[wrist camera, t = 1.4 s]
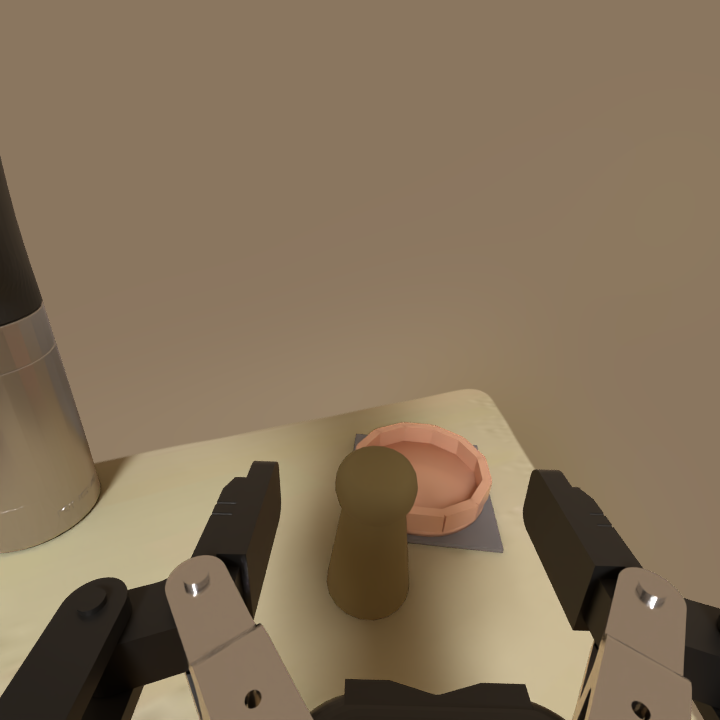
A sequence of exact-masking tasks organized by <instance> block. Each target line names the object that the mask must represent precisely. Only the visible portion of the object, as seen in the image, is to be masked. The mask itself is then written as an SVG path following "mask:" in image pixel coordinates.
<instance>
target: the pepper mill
mask: <svg viewBox="0 0 720 720" xmlns="http://www.w3.org/2000/svg"><path fill="white" fill-rule="evenodd" d="M335 490H336V493H337V496H338V500H339V503H340V506H341V507H342V510H341V514H340V519H339V524H338V528H337V533H336V537H335V542H334V546H333V551H332V555H331V560H330V564H329V569H328V576H327V585H328V589H329V594H330V595H331V597H332V599H333V600H334V602H335V604H336V605H337V606H338V607H339V608H341V609H342V610H343V611H344V612H345V613H347V614H349V615H351V616H354V617H356V618H358V619H366V620H376V619H380V618H384V617H387V616H389V615H390V614H392V613H393V612H395V611H397V610H398V609H399V608H400V606H401V605H402V603H403V602H404V601H405V599H406V596H407V593H408V589H409V575H408V549H407V522H406V515H407V514H408V513H409V512H410V511H411V509H412V507H413V505H414V502H415V499H416V496H417V492H418V483H417V476H416V472H415V470H414V468H413V466H412V465H411V463H410V461H409V460H408V459H407V458H406V457H405V456H404V455H403V454H401V453H399V452H398V451H396V450H394V449H391V448H387V447H383V446H368V447H362V448H360V449H357V450H354V451H353V452H352V453H350V454H349V455H348V456H347V457H346V458H345V459H344V460H343V462H342V463H341V465H340V467H339V469H338V472H337V476H336V487H335Z"/></svg>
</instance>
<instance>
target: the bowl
mask: <svg viewBox="0 0 720 720" xmlns="http://www.w3.org/2000/svg"><path fill="white" fill-rule="evenodd" d="M368 446H383V447H387V448H391V449H394V450H396V451H398V452H399V453H401V454H403V455H404V456H405V457H406V458H407V459H408V460H409V461H410V463H411V465H412V466H413V468H414V470H415V472H416V476H417V483H418V492H417V496H416V499H415V502H414V505H413V507H412V509H411V511H410V512H409V513H408V514H407V515H406V522H407V534H410V535H416V536H423V537H438V536H445V535H450V534H453V533H457V532H459V531H461V530H463V529H465V528H467V527H468V526H470V525H471V524H472V523H473V522H474V521H475V520H476V519H477V518H478V517H479V515H480V514H481V512H482V510H483V507H484V504H485V502H486V501H487V499H488V496H489V493H490V489H491V485H492V479H491V476H490V472H489V468H488V465H487V461H486V458H485V456H483V455H482V454H481V453H480V452H479V451H478V450H477V449H476V448H475V447H474V446H473V445H472V444H471V443H470V442H469V441H467V440H466V439H465V438H463V437H462V436H460V435H457V434H455V433H453V432H450V431H448V430H445V429H443V428H441V427H438V426H436V425H435V426H434V425H429V424H419V423H408V422H404V423H403V422H401V423H397V424H393V425H389V426H385V427H381V428H377V429H376V430H373V431H372V432H371V433H370V434H369V435H368V436H366V437H365V438H364V439H363V440H362V441H361V442H359V443H358V444H357V446H356V450H357V449H360V448H362V447H368Z"/></svg>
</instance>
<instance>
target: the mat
mask: <svg viewBox="0 0 720 720" xmlns="http://www.w3.org/2000/svg"><path fill="white" fill-rule="evenodd" d="M366 436H368V435H363V434H356V438H355V444H354V450H356V446H357V444H358V443H359V442H361V441H362V440H363V439H364V438H365V437H366ZM473 446H474V447H475V448H476V449H477V450H478V448H477V445H473ZM407 543H417V544H426V545H435V546H444V547H453V548H462V549H471V550H481V551H490V552H499V553H503V550H504V549H503V545H502V542H501V538H500V534H499V530H498V526H497V522H496V518H495V514H494V510H493V506H492V502H491V499H490V495H489V496H488V499H487V501H486V502H485V504H484V507H483V510H482V512H481V514H480V515H479V517H478V518H477V519H476V520H475V521H474V522H473V523H472V524H471V525H470V526H468V527H467V528H465V529H463V530H461V531H459V532H457V533H453V534H450V535H445V536H438V537H423V536H416V535H410V534H407Z"/></svg>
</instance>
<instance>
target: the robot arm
mask: <svg viewBox="0 0 720 720" xmlns="http://www.w3.org/2000/svg"><path fill="white" fill-rule="evenodd" d="M100 488H101V486H100V482H99V479H98V475H97V472H96V469H95V466H94V462H93V459H92V456H91V453H90V449H89V446H88V442H87V439H86V436H85V433H84V430H83V426H82V423H81V420H80V417H79V414H78V411H77V407H76V404H75V401H74V398H73V395H72V392H71V388H70V385H69V382H68V379H67V376H66V372H65V369H64V366H63V363H62V360H61V357H60V353H59V350H58V347H57V344H56V341H55V338H54V335H53V332H52V329H51V325H50V322H49V319H48V316H47V313H46V310H45V306H44V303H43V301H42V297H41V294H40V291H39V288H38V285H37V282H36V279H35V276H34V273H33V271H32V268H31V265H30V262H29V258H28V255H27V252H26V250H25V246H24V243H23V240H22V236H21V233H20V230H19V227H18V223H17V220H16V217H15V213H14V209H13V205H12V201H11V198H10V194H9V190H8V186H7V182H6V178H5V174H4V170H3V166H2V162H1V157H0V553H9V552H14V551H19V550H24V549H27V548H30V547H33V546H36V545H39V544H41V543H44V542H46V541H48V540H50V539H52V538H55V537H56V536H58V535H60V534H61V533H63V532H65V531H67V530H68V529H70V528H71V527H72V526H74V525H75V524H76V523H78V522H79V521H80V520H81V519H82V518H83V517H84V516H85V515H86V514H87V513H88V512H89V511H90V510H91V509H92V507H93V506H94V505H95V503H96V502H97V499H98V497H99V495H100ZM280 511H281V493H280V477H279V465H278V462H270V461H254V462H253V463H252V465H251V468H250V470H249V473H248V475H247V477H235V478H234V479H233V480H232V481H231V482H230V483H229V484H227V485H226V486H225V487H224V488H223V490H222V492H221V494H220V497H219V499H218V501H217V504H216V505H215V507H214V509H213V512H212V515H211V516H210V518H209V520H208V522H207V525H206V527H205V529H204V531H203V533H202V535H201V537H200V540H199V542H198V544H197V546H196V548H195V550H194V553H193V555H192V557H191V558H190V559H188V560H186V561H184V562H183V563H181V564H180V565H178V566H177V567H176V568H175V569H174V570H173V571H172V572H171V574H170V575H169V577H168V578H167V579H165V580H163V581H160V582H157V583H154V584H150V585H146V586H142V587H138V588H134V589H130V590H127V587H126V585H125V583H124V582H123V581H121V580H119V579H117V578H110V577H107V578H100V579H96V580H93V581H91V582H89V583H86V584H84V585H83V586H81V587H79V588H78V589H76V590H75V591H74V592H73V593H71V594H70V595H69V596H68V597H67V598H66V599H65V600H64V602H63V603H62V604H61V606H60V607H59V609H58V610H57V612H56V613H55V615H54V616H53V618H52V619H51V621H50V622H49V624H48V626H47V627H46V629H45V630H44V632H43V633H42V635H41V636H40V638H39V639H38V641H37V642H36V644H35V645H34V647H33V648H32V650H31V651H30V653H29V655H28V656H27V658H26V659H25V661H24V662H23V664H22V665H21V667H20V668H19V670H18V671H17V673H16V674H15V676H14V677H13V679H12V681H11V682H10V684H9V685H8V687H7V688H6V690H5V691H4V693H3V694H2V696H1V697H0V720H131V718H132V715H133V713H134V710H135V707H136V705H137V702H138V700H139V697H140V694H141V692H142V689H143V687H144V685H146V684H149V683H152V682H156V681H159V680H162V679H165V678H168V677H171V676H174V675H177V674H180V673H185V676H186V679H187V682H188V685H189V688H190V691H191V695H192V698H193V701H194V704H195V707H196V710H197V713H198V716H199V720H565V719H563V718H562V717H561V716H559V715H558V714H556V713H554V712H552V711H551V710H549V709H547V708H545V707H543V706H541V705H538V704H536V703H533V702H531V701H530V698H529V695H528V692H527V688H526V685H525V684H499V683H479V684H476V685H472V686H469V687H465V688H462V689H458V690H455V691H451V692H448V693H445V694H441V695H434V694H430V693H427V692H424V691H421V690H418V689H415V688H412V687H409V686H406V685H402V684H399V683H396V682H393V681H390V680H360V679H345V695H342V696H338V697H335V698H333V699H331V700H328V701H326V702H324V703H322V704H321V705H319V706H318V707H316V708H315V709H313V710H312V711H311V712H310V713H309V711H308V709H307V707H306V705H305V703H304V701H303V699H302V697H301V696H300V694H299V692H298V690H297V688H296V686H295V684H294V682H293V680H292V679H291V677H290V675H289V673H288V671H287V669H286V667H285V665H284V663H283V662H282V660H281V658H280V656H279V654H278V652H277V650H276V648H275V646H274V644H273V643H272V641H271V639H270V637H269V635H268V633H267V631H266V630H265V628H264V627H263V625H262V624H260V623H259V624H257V625H256V624H255V622H254V621H253V620H254V616H255V613H256V609H257V605H258V601H259V597H260V593H261V589H262V585H263V581H264V577H265V573H266V570H267V566H268V562H269V558H270V554H271V550H272V546H273V542H274V538H275V534H276V530H277V527H278V523H279V518H280ZM523 519H524V524H525V527H526V530H527V532H528V534H529V536H530V539H531V541H532V543H533V545H534V547H535V549H536V552H537V554H538V556H539V558H540V560H541V562H542V565H543V567H544V569H545V571H546V573H547V575H548V578H549V580H550V582H551V584H552V586H553V588H554V591H555V593H556V595H557V597H558V599H559V601H560V604H561V606H562V608H563V610H564V612H565V614H566V617H567V619H568V621H569V623H570V625H571V627H572V630H579V631H590V632H591V634H592V636H593V638H594V641H593V644H592V646H591V650H590V654H589V658H588V661H587V665H586V669H585V673H584V677H583V681H582V685H581V689H580V692H579V696H578V700H577V704H576V708H575V711H574V715H573V718H572V720H691V705H692V704H691V703H692V700H693V701H694V703H695V704H696V706H697V708H698V710H699V712H700V713H701V715H702V717H703V719H704V720H720V609H719V608H716V607H712V606H709V605H705V604H702V603H698V602H695V601H691V600H688V599H685V598H683V596H682V595H681V593H680V592H679V591H678V590H677V589H676V588H675V587H674V586H673V585H672V584H671V583H670V582H669V581H667V580H666V579H664V578H663V577H661V576H660V575H658V574H656V573H654V572H651V571H649V570H646V569H643V568H642V566H641V565H640V563H639V562H638V561H637V559H636V558H635V556H634V555H633V554H632V552H631V551H630V549H629V548H628V547H627V546H626V544H625V543H624V541H623V540H622V539H621V537H620V536H619V534H618V533H617V531H616V530H615V529H614V527H613V528H612V526H611V525H612V524H611V523H610V522H609V520H608V519H607V517H606V516H604V515H603V512H602V510H601V509H600V508H599V507H598V505H597V504H596V502H595V501H594V499H592V498H591V497H590V496H589V495H587V494H586V493H585V492H583V491H582V490H581V489H580V488H578V487H572V486H571V485H570V484H569V482H568V481H567V479H566V478H565V476H564V475H563V473H562V472H561V471H559V470H533V471H532V473H531V477H530V481H529V485H528V489H527V494H526V498H525V502H524V507H523Z"/></svg>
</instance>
